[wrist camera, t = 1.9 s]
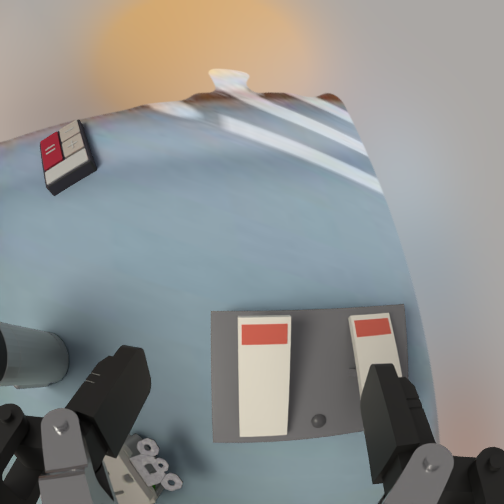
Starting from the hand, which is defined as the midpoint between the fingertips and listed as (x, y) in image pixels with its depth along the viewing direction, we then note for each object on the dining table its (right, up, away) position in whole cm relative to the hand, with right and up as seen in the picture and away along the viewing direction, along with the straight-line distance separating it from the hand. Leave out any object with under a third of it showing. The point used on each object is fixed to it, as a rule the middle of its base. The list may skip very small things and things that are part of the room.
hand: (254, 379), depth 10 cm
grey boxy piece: (-24, -33, +29) cm, 50 cm away
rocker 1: (+1, -11, +25) cm, 27 cm away
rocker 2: (+16, -11, +26) cm, 32 cm away
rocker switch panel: (+8, -14, +36) cm, 40 cm away
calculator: (-40, +24, +47) cm, 66 cm away
